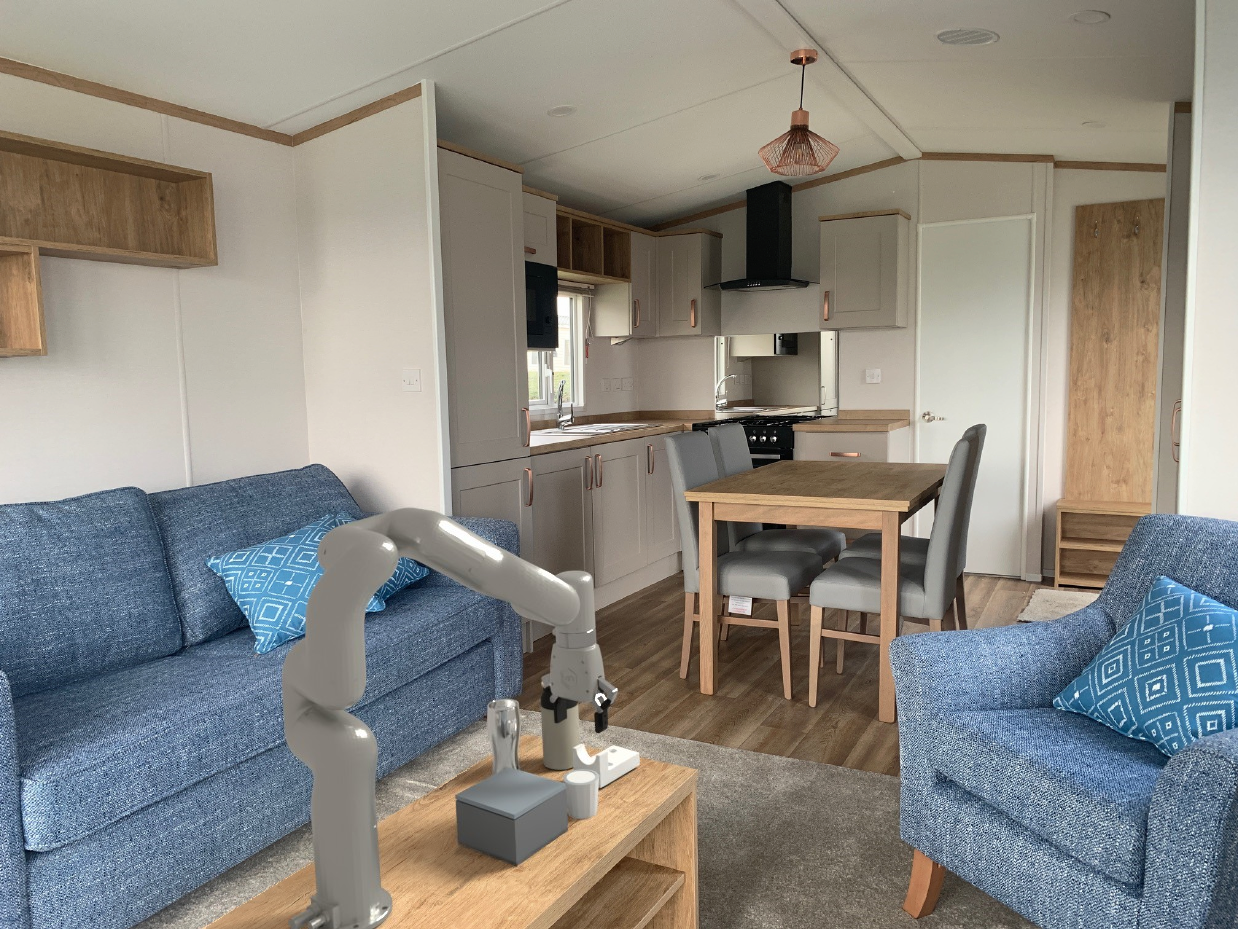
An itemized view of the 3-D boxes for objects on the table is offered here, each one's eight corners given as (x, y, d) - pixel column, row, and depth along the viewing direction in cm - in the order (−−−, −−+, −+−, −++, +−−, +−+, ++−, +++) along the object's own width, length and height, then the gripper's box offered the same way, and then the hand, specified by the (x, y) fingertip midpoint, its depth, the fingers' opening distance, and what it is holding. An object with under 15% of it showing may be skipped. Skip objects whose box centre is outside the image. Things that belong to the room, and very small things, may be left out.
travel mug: (587, 759, 189) (584, 678, 187) (567, 774, 182) (564, 690, 180) (556, 752, 193) (553, 673, 191) (536, 767, 186) (532, 685, 184)
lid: (514, 819, 147) (514, 814, 146) (455, 799, 155) (455, 795, 154) (566, 788, 158) (566, 784, 158) (508, 771, 166) (508, 767, 166)
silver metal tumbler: (509, 763, 188) (506, 696, 187) (529, 772, 183) (526, 703, 182) (483, 774, 183) (479, 705, 182) (503, 784, 178) (499, 713, 177)
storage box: (516, 866, 147) (514, 821, 147) (457, 844, 155) (455, 800, 155) (568, 830, 159) (566, 788, 158) (510, 811, 167) (508, 771, 166)
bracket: (600, 792, 174) (599, 756, 173) (574, 783, 178) (572, 747, 178) (639, 769, 184) (638, 734, 183) (613, 761, 188) (612, 727, 188)
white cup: (604, 804, 168) (603, 769, 167) (595, 822, 161) (594, 786, 161) (570, 802, 170) (568, 767, 169) (559, 819, 163) (558, 783, 162)
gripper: (527, 637, 165) (533, 724, 166) (601, 649, 155) (606, 742, 156) (552, 626, 171) (557, 711, 172) (625, 638, 161) (629, 727, 162)
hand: (580, 725), depth 164 cm, fingers open, 9 cm apart
